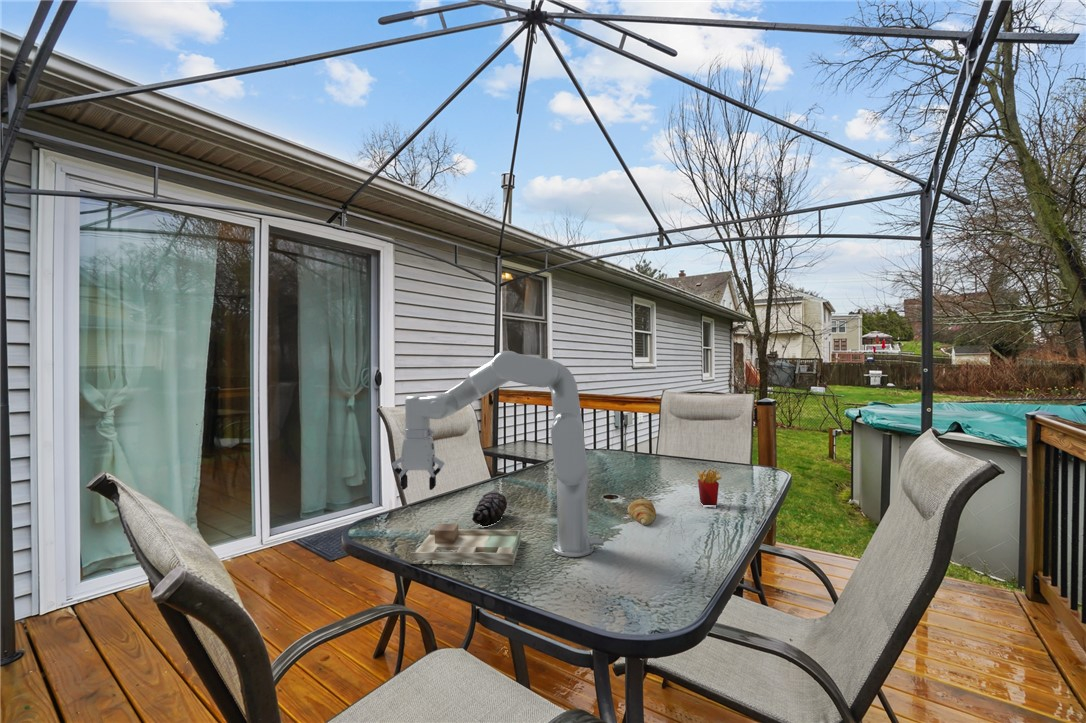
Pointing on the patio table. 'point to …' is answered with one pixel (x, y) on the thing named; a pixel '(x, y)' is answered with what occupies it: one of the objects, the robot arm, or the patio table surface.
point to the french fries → (708, 487)
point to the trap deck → (473, 547)
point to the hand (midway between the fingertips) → (418, 488)
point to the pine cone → (490, 509)
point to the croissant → (642, 511)
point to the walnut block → (446, 533)
